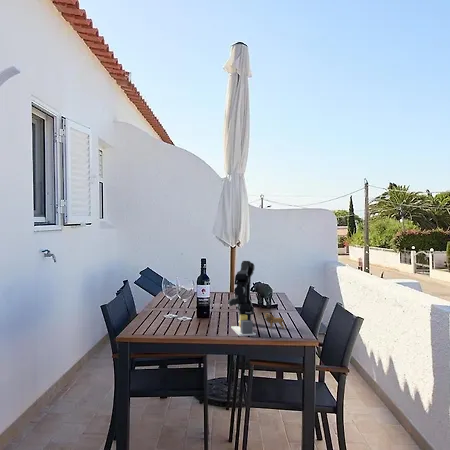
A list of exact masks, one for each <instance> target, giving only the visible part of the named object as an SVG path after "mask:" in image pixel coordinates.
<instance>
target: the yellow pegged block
mask: <svg viewBox="0 0 450 450" xmlns="http://www.w3.org/2000/svg"><path fill="white" fill-rule="evenodd" d="M238 317H239V320H238V321H239V323H238V326H239V327H240V324H241V320H247V317H248V315H246V314H239V316H238Z"/></svg>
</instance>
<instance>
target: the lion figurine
mask: <svg viewBox="0 0 450 450" xmlns="http://www.w3.org/2000/svg"><path fill="white" fill-rule="evenodd" d="M264 320H265V321H266V322H267V323H269V325H270V326H269V328H270V329H271V328H272V327H273V324H279V325H280V326H279V328H280V329H282V330H283V329H287V328H288V327H287V326H286V325H285V321H284V319H283V318H282V317H275V316H274V315H272V313H269V312H267V313H264Z"/></svg>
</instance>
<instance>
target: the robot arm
mask: <svg viewBox="0 0 450 450" xmlns="http://www.w3.org/2000/svg"><path fill="white" fill-rule="evenodd" d="M254 271H255V264H254V263H253V262H251V261H250V260H242V262H241V263H240V270H239V271H237V272H236V274H235V276H234V283H233V284H234V285H236V286H235V288H234V289H233V291H234V295H235V297H232V298H230V299H228V300H227V303H228V306H230V307H232V306H235V308H236V309H237V310H238V313H239V315H240V314H246V315H248V317H247V320H251V321H252V315H254V314H255V308H254V306H253V302H252V300H251V282H252V281H251V279H252V276H253V275H254Z"/></svg>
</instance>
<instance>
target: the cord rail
mask: <svg viewBox="0 0 450 450" xmlns="http://www.w3.org/2000/svg"><path fill="white" fill-rule="evenodd" d="M237 323H238V324H239V320H238V322H237ZM253 323H254V322H253V320H252V319H251V320H241V324H240V327H239V325H237V326H235V325H234V326H231V327H230V328H231V330H233V331H234V333H236V334H237V336H239V337H240V336H241V337H245V336H256V335H257V333H256V332H254V330H253V327H254V326H253Z"/></svg>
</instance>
